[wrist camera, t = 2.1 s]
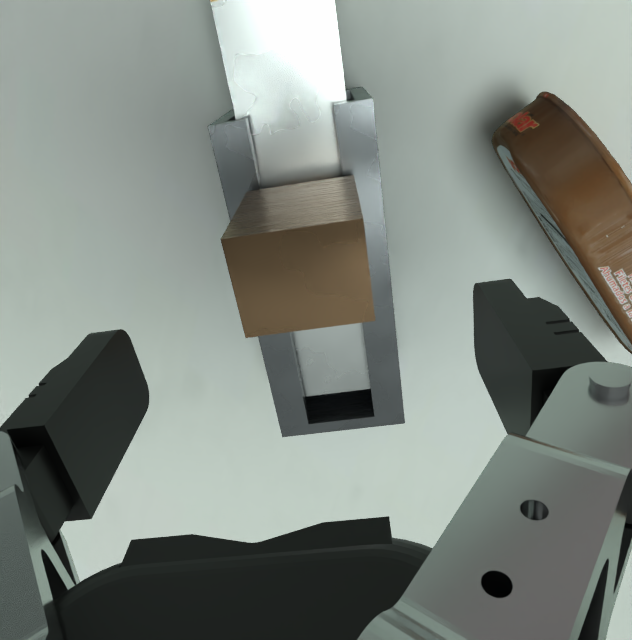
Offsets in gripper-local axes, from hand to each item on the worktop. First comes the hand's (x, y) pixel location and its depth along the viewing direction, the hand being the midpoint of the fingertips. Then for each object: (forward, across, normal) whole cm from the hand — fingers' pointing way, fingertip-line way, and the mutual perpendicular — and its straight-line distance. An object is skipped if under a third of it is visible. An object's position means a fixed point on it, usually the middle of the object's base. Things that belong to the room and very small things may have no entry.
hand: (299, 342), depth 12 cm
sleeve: (+15, 0, +3) cm, 16 cm away
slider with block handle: (+15, 0, 0) cm, 15 cm away
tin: (+16, -12, +4) cm, 20 cm away
